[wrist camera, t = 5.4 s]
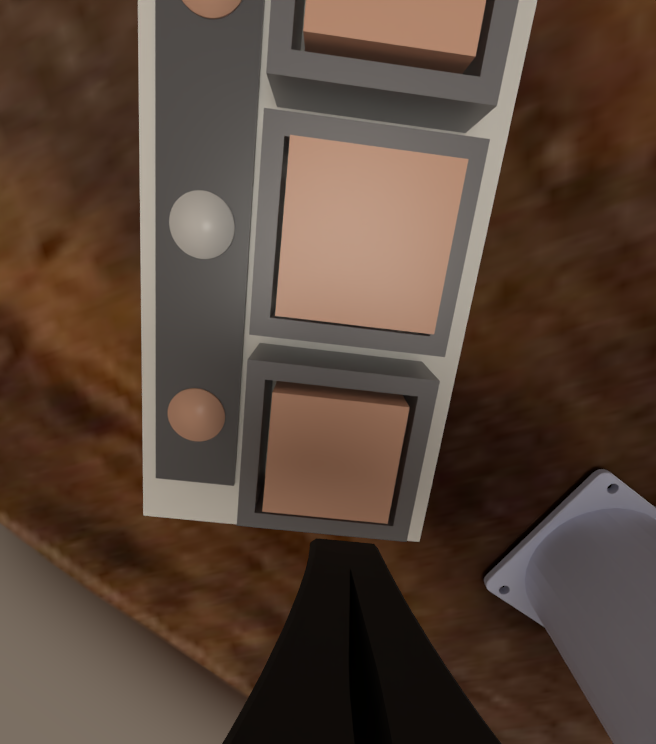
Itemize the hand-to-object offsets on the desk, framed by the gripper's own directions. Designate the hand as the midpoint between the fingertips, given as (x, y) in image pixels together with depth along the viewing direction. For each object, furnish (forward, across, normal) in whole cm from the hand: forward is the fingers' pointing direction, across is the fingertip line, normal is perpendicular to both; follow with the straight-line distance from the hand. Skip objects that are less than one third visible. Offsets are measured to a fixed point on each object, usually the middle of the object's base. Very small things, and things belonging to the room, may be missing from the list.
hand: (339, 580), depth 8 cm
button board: (+9, +2, -7) cm, 12 cm away
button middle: (+6, 0, -7) cm, 9 cm away
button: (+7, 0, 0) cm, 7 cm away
